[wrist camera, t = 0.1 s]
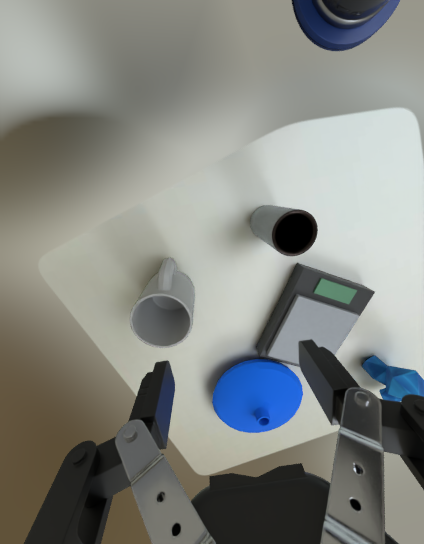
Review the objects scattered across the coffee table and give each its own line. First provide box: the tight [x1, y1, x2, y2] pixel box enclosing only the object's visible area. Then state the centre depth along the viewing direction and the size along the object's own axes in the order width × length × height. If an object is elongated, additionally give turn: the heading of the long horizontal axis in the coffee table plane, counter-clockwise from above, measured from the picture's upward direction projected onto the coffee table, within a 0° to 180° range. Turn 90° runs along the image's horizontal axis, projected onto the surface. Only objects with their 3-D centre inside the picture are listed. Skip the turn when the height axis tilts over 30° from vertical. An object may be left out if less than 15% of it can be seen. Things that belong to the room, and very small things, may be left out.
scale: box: [256, 263, 375, 367], centre depth 35 cm, size 16×12×3 cm
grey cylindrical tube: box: [250, 205, 318, 256], centre depth 26 cm, size 4×4×10 cm
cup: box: [130, 257, 195, 348], centre depth 29 cm, size 7×10×9 cm
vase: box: [212, 359, 303, 433], centre depth 37 cm, size 16×16×7 cm
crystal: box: [362, 356, 424, 402], centre depth 36 cm, size 7×9×12 cm
